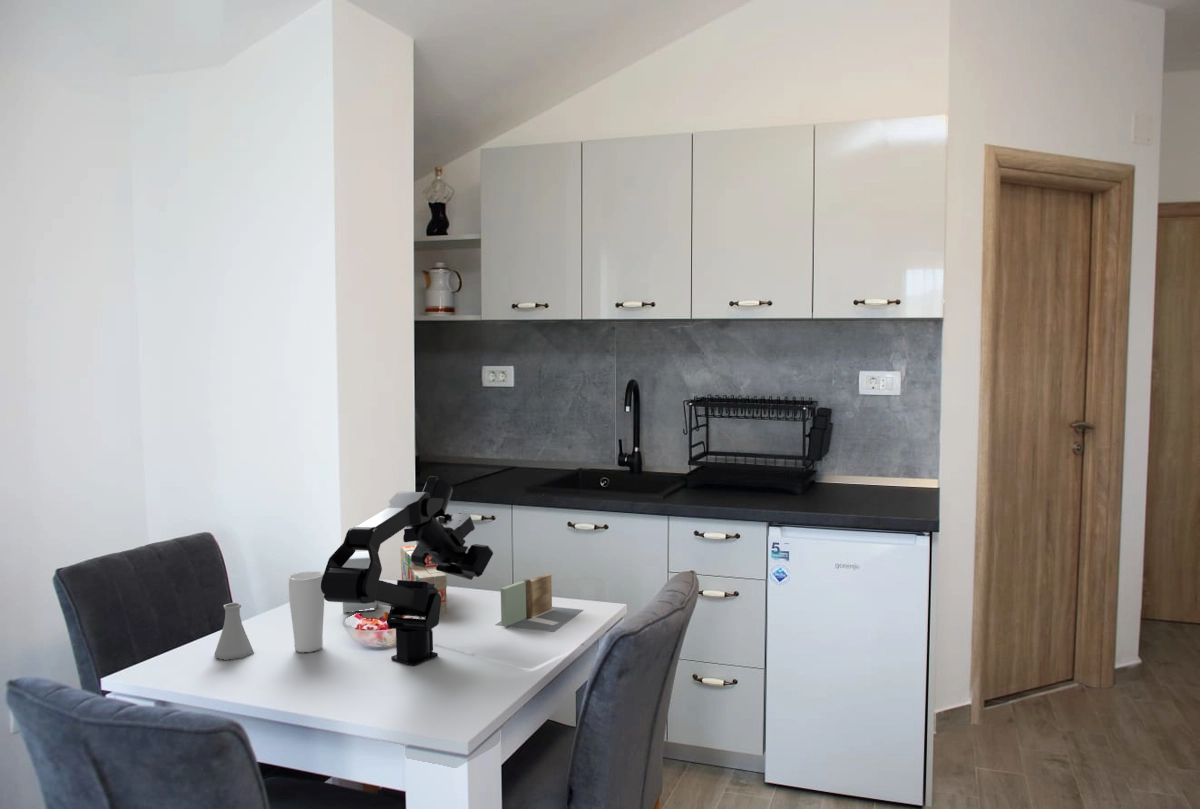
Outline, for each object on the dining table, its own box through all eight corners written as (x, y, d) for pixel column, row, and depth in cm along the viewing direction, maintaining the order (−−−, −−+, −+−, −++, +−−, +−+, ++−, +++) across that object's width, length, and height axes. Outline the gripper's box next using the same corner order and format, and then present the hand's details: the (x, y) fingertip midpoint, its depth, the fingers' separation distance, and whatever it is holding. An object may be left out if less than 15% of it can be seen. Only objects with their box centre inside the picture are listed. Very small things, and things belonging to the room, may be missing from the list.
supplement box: (378, 602, 201) (377, 549, 201) (374, 611, 194) (373, 557, 193) (346, 604, 200) (345, 551, 200) (341, 613, 193) (339, 558, 192)
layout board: (554, 633, 176) (554, 631, 176) (494, 626, 181) (494, 624, 181) (583, 611, 191) (583, 609, 191) (528, 605, 196) (528, 603, 196)
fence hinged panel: (522, 617, 185) (521, 581, 185) (526, 618, 185) (525, 581, 184) (501, 625, 180) (500, 588, 179) (505, 626, 179) (504, 589, 179)
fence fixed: (528, 619, 185) (527, 581, 184) (522, 618, 186) (521, 580, 185) (552, 609, 192) (551, 573, 191) (547, 608, 193) (546, 572, 192)
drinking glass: (298, 657, 165) (295, 581, 164) (285, 648, 170) (282, 575, 169) (332, 649, 169) (329, 575, 168) (318, 640, 174) (315, 569, 173)
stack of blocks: (447, 615, 191) (446, 561, 190) (419, 619, 188) (418, 564, 187) (426, 592, 210) (425, 542, 209) (401, 595, 208) (399, 545, 207)
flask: (208, 655, 167) (205, 605, 166) (244, 645, 172) (242, 597, 172) (223, 664, 162) (221, 612, 162) (260, 653, 167) (258, 604, 167)
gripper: (485, 507, 168) (522, 550, 178) (419, 499, 179) (457, 541, 189) (458, 554, 162) (498, 596, 172) (392, 543, 173) (432, 584, 183)
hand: (471, 577), depth 179 cm, fingers closed
